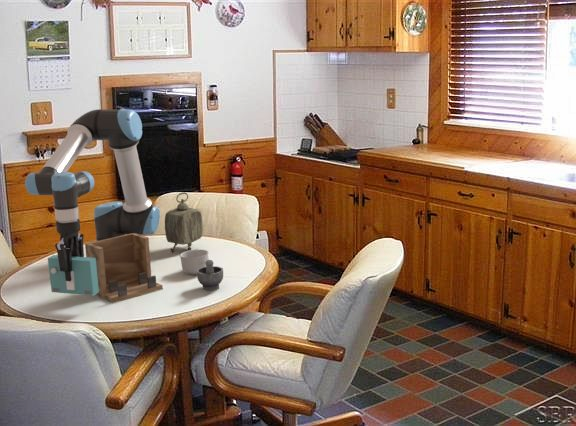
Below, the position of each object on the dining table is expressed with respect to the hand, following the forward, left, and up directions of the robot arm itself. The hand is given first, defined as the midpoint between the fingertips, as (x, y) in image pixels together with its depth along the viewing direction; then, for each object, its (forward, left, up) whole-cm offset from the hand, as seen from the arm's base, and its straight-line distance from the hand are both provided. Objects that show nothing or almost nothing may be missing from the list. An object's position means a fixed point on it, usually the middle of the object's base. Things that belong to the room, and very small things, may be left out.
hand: (74, 287), depth 253 cm
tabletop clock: (-32, +68, -8) cm, 75 cm away
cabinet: (-5, +22, -8) cm, 23 cm away
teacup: (-4, +53, -8) cm, 53 cm away
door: (0, 0, -2) cm, 2 cm away
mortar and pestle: (+17, +44, -8) cm, 48 cm away
